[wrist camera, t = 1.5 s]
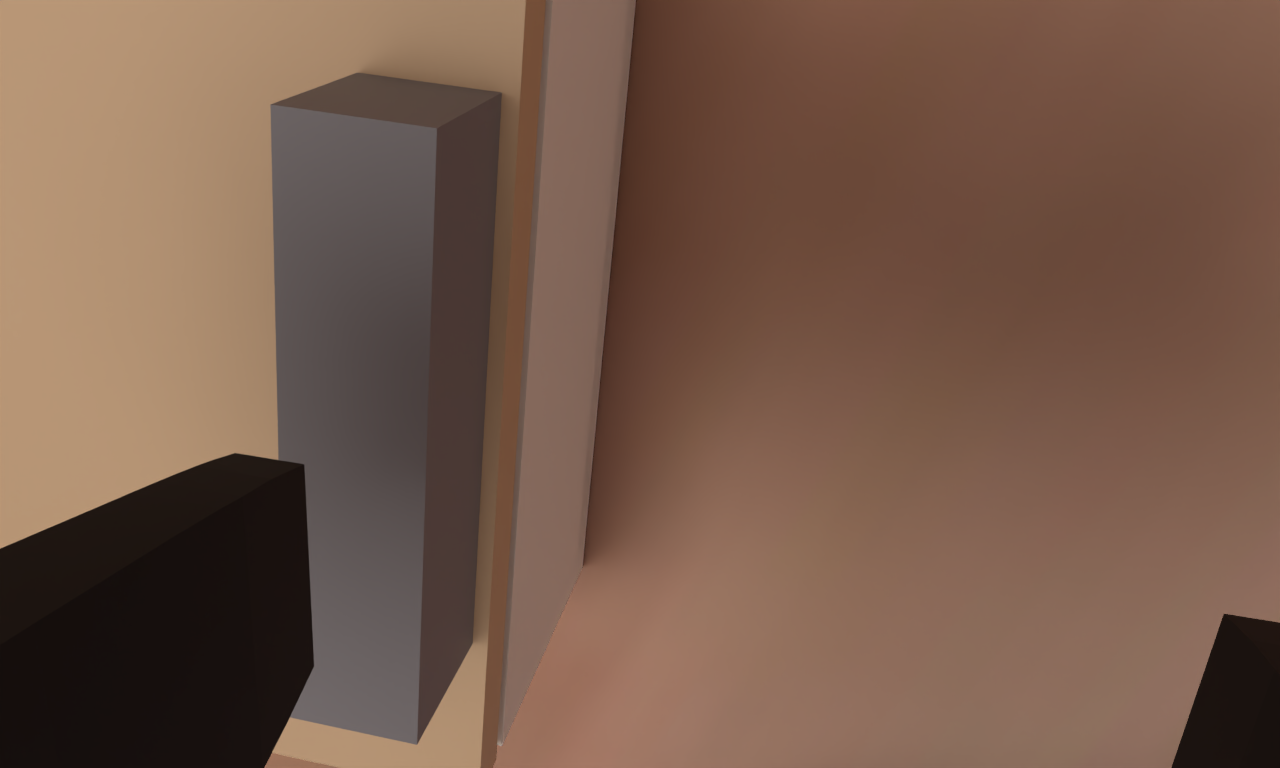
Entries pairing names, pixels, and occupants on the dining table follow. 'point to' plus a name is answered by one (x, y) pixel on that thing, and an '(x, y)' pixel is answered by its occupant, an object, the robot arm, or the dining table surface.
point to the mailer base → (563, 321)
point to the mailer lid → (287, 311)
